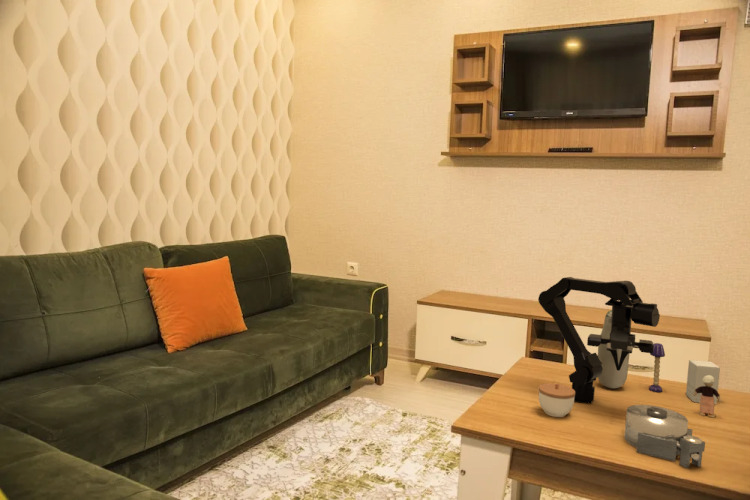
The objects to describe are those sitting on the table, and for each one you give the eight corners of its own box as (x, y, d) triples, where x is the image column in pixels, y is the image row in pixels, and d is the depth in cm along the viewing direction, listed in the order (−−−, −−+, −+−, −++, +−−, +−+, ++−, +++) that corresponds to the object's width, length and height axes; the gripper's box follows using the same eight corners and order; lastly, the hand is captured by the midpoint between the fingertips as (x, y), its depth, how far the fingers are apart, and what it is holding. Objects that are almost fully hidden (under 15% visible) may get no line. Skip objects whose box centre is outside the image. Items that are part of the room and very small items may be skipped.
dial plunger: (671, 449, 144) (672, 440, 143) (679, 449, 144) (679, 440, 144) (692, 462, 137) (693, 453, 137) (700, 461, 137) (701, 452, 137)
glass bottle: (592, 381, 202) (598, 306, 199) (621, 383, 201) (627, 307, 198) (599, 390, 192) (605, 311, 190) (630, 393, 191) (636, 313, 188)
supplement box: (717, 404, 183) (720, 367, 181) (692, 402, 184) (696, 365, 183) (708, 397, 190) (712, 361, 189) (685, 394, 191) (688, 359, 190)
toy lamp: (656, 393, 192) (660, 346, 190) (644, 388, 196) (648, 343, 194) (665, 391, 194) (669, 345, 192) (652, 387, 198) (656, 341, 196)
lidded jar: (579, 413, 171) (581, 384, 170) (564, 423, 163) (566, 392, 162) (546, 404, 178) (548, 375, 177) (530, 412, 170) (532, 383, 169)
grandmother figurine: (718, 414, 174) (722, 375, 172) (720, 419, 170) (724, 379, 169) (690, 410, 177) (694, 371, 176) (691, 414, 173) (695, 375, 172)
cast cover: (627, 449, 147) (630, 416, 146) (621, 428, 161) (624, 397, 160) (690, 460, 142) (694, 425, 141) (679, 437, 156) (682, 405, 155)
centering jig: (634, 450, 146) (636, 425, 146) (688, 445, 150) (690, 421, 150) (667, 472, 135) (669, 444, 134) (724, 466, 139) (727, 439, 139)
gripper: (586, 322, 169) (584, 372, 170) (655, 329, 161) (651, 382, 162) (590, 316, 179) (587, 363, 180) (654, 322, 171) (651, 372, 172)
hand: (618, 370), depth 173 cm, fingers closed
